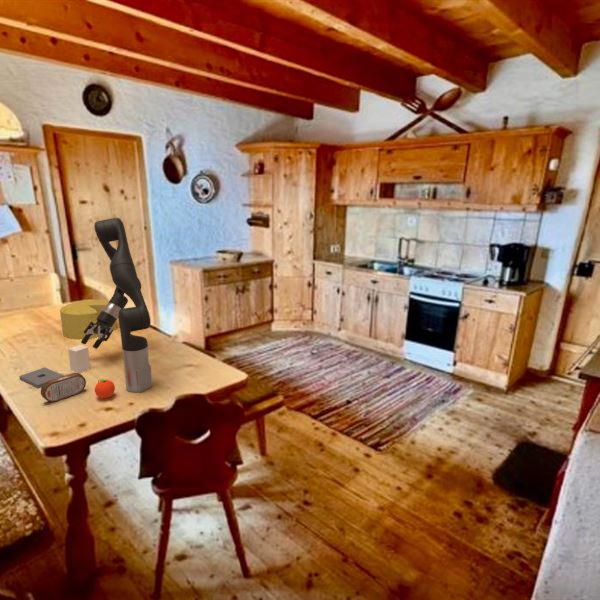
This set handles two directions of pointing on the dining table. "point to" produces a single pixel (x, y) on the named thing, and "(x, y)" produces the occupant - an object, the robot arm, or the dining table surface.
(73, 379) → the tin
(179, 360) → the dining table surface
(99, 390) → the clementine
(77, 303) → the cheese
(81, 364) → the block
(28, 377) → the slate board
